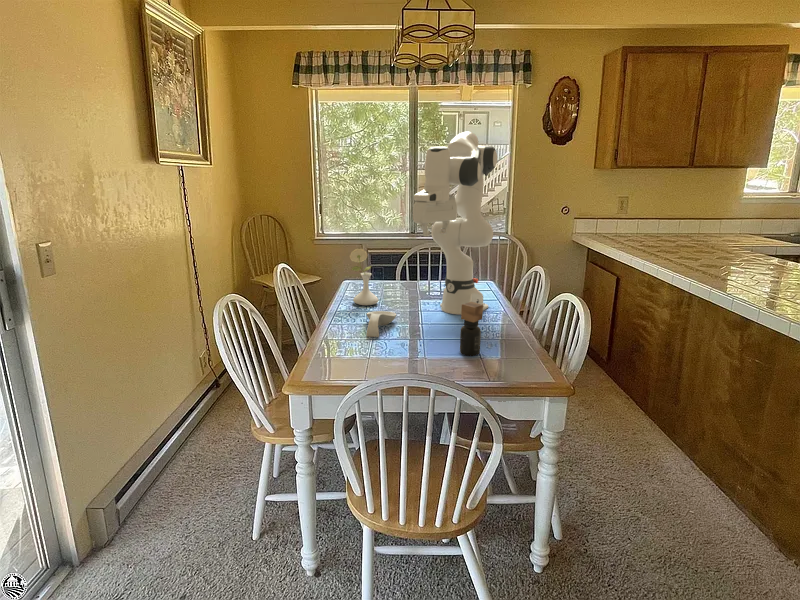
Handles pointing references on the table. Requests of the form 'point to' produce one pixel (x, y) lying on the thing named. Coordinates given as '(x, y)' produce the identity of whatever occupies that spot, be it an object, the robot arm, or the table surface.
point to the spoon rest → (378, 321)
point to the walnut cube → (472, 311)
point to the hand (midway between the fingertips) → (435, 234)
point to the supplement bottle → (470, 339)
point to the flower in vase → (365, 295)
